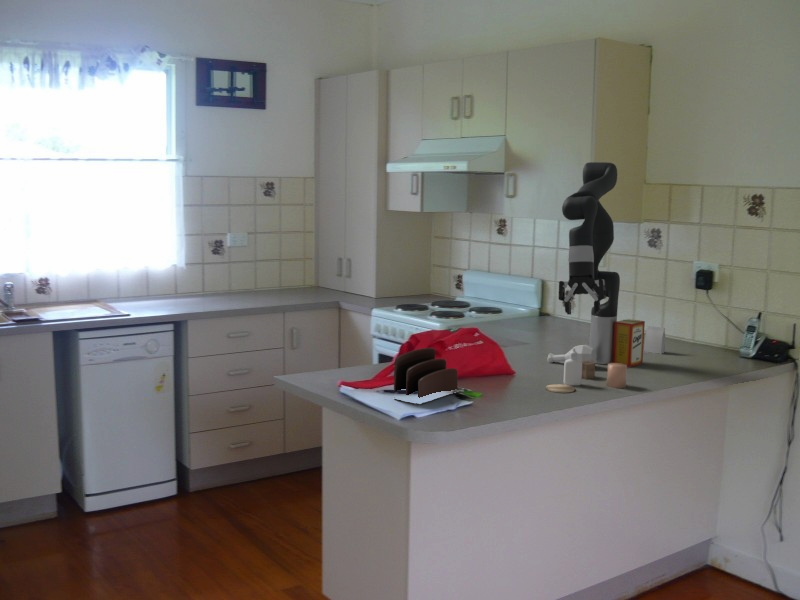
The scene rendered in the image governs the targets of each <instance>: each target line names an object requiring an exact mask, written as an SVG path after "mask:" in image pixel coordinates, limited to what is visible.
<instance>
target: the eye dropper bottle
mask: <svg viewBox="0 0 800 600" xmlns="http://www.w3.org/2000/svg"><path fill="white" fill-rule="evenodd" d="M572 348H573V350H572V352H570V359H568V360H565V361H564V363H563V364H564V365H563V385H569V386H572V387H575V386H581V385H582V382H583V381H582V380H583V379H582V362H581V361H580V360H578V359H577V354H578V353H577V352H576V351H575V348H574V347H572Z"/></svg>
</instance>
